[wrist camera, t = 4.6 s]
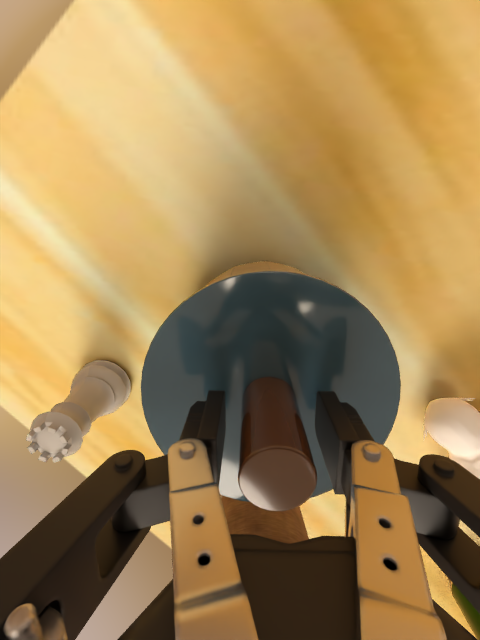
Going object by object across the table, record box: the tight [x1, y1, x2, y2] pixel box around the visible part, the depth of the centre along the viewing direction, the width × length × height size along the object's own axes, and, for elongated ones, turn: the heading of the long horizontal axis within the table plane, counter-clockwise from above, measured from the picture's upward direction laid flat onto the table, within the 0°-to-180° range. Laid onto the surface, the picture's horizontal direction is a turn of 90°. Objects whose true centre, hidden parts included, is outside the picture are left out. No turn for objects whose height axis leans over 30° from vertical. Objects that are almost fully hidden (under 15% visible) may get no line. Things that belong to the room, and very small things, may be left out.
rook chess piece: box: [26, 360, 131, 462], centre depth 22 cm, size 4×4×8 cm
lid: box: [141, 270, 401, 511], centre depth 13 cm, size 12×12×6 cm
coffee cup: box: [221, 495, 309, 544], centre depth 21 cm, size 8×8×15 cm
